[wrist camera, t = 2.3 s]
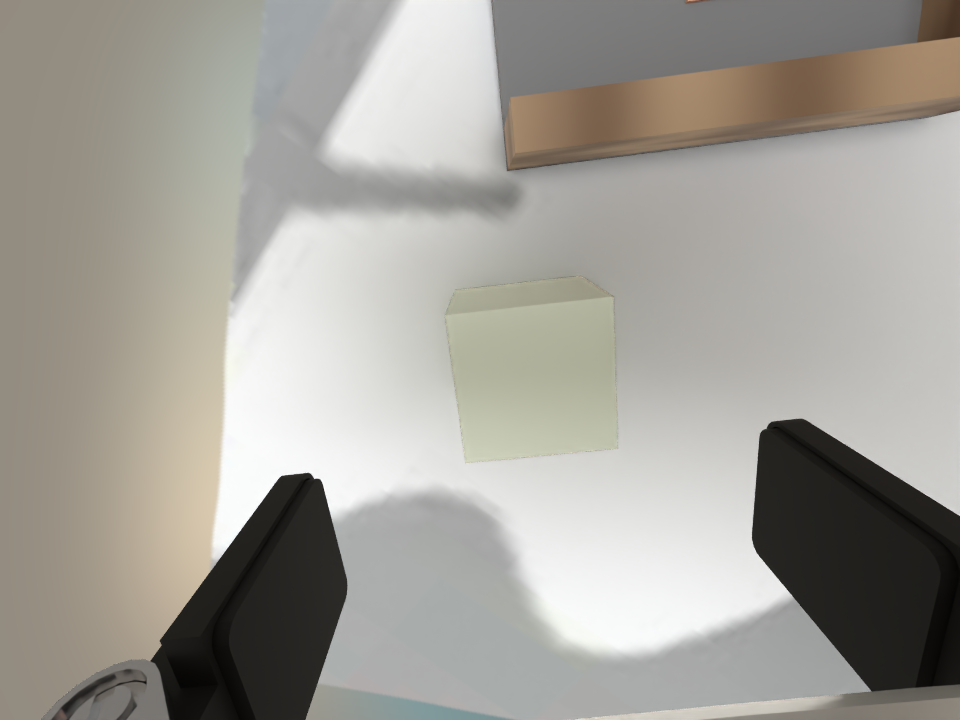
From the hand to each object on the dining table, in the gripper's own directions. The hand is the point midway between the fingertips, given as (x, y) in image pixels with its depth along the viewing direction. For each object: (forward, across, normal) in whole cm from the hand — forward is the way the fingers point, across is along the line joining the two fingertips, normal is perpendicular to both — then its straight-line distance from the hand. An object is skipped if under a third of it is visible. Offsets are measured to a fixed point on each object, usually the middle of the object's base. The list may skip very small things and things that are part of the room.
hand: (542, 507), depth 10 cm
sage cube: (+14, -1, 0) cm, 14 cm away
